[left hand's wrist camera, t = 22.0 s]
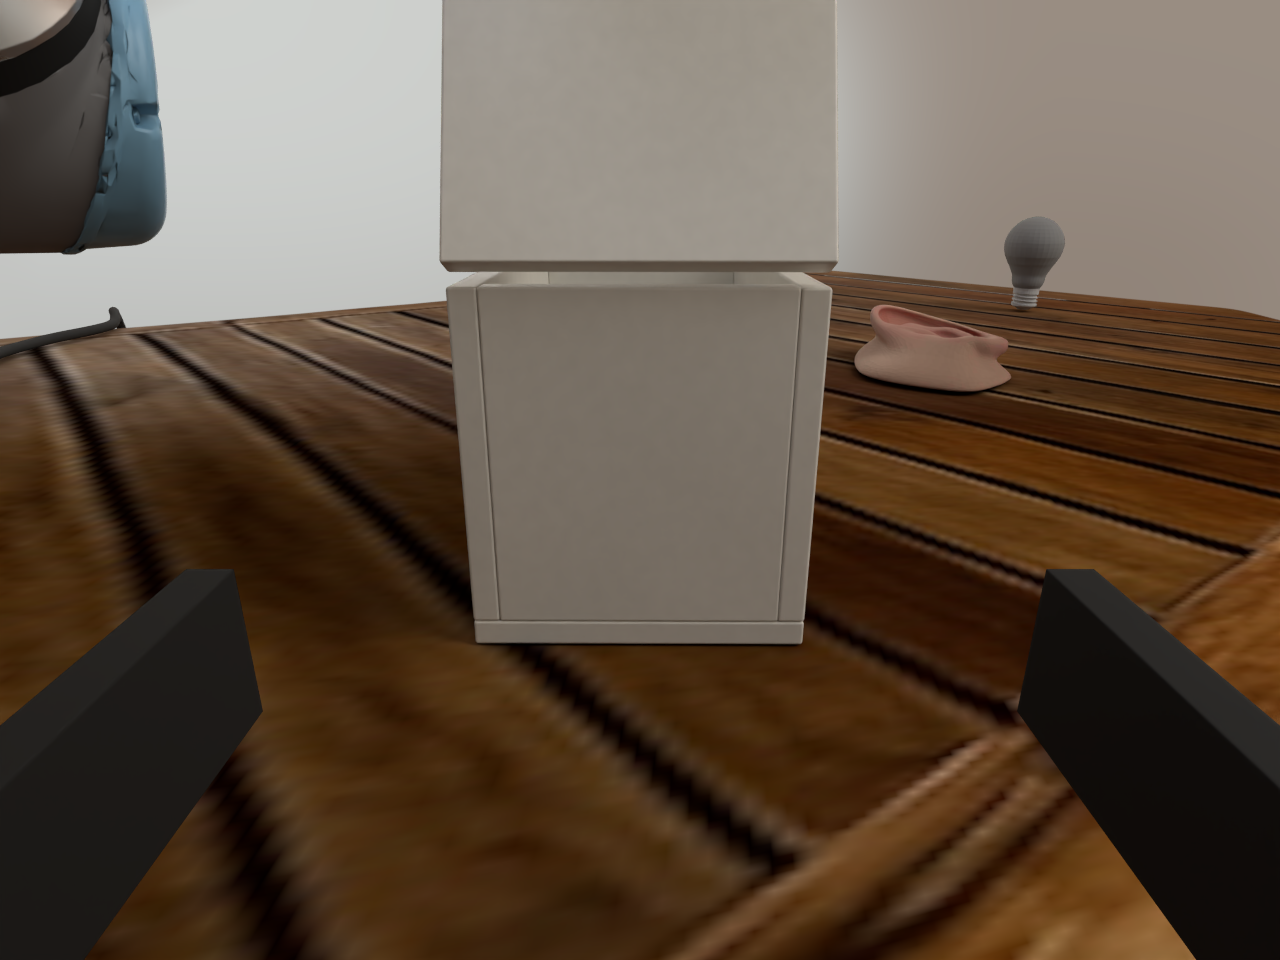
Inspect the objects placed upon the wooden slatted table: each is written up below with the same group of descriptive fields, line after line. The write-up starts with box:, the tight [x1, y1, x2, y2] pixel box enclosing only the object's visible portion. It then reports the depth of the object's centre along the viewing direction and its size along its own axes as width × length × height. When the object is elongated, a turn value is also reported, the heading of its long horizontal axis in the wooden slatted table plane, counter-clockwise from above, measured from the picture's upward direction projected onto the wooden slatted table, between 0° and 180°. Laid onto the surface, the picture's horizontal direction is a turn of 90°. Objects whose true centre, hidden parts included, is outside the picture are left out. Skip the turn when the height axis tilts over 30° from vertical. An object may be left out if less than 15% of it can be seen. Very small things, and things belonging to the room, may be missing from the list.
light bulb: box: [1004, 217, 1065, 310], centre depth 87 cm, size 6×6×10 cm
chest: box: [446, 272, 832, 644], centre depth 30 cm, size 17×10×11 cm, turn 0°
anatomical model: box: [855, 305, 1011, 392], centre depth 59 cm, size 13×4×12 cm
